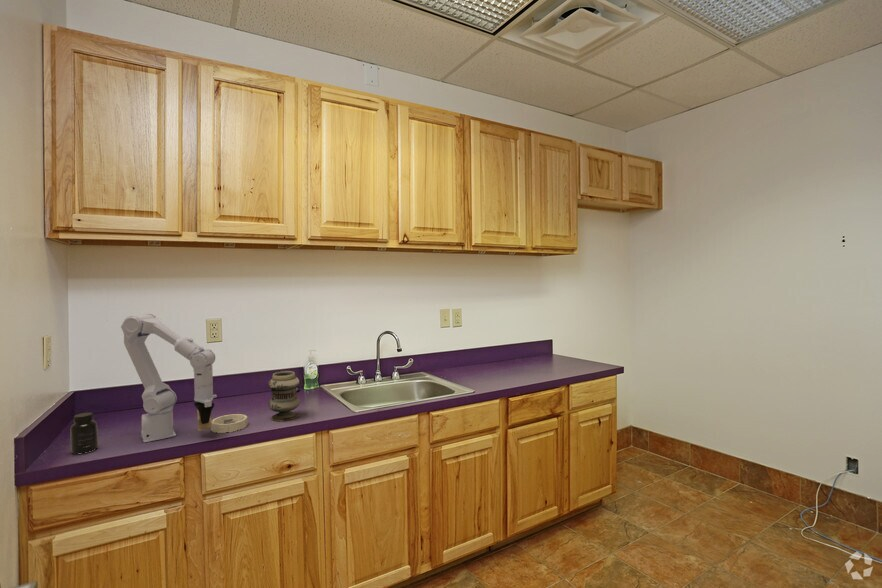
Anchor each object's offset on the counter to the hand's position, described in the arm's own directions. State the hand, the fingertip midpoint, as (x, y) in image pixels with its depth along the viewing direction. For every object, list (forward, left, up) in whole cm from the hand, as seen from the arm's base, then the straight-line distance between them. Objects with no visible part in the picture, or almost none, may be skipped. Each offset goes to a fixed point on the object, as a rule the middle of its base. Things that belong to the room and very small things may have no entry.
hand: (204, 422), depth 152 cm
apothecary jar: (+29, +2, -5) cm, 30 cm away
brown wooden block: (0, 0, -2) cm, 2 cm away
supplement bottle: (-33, +11, -5) cm, 35 cm away
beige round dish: (+9, +4, -5) cm, 11 cm away
